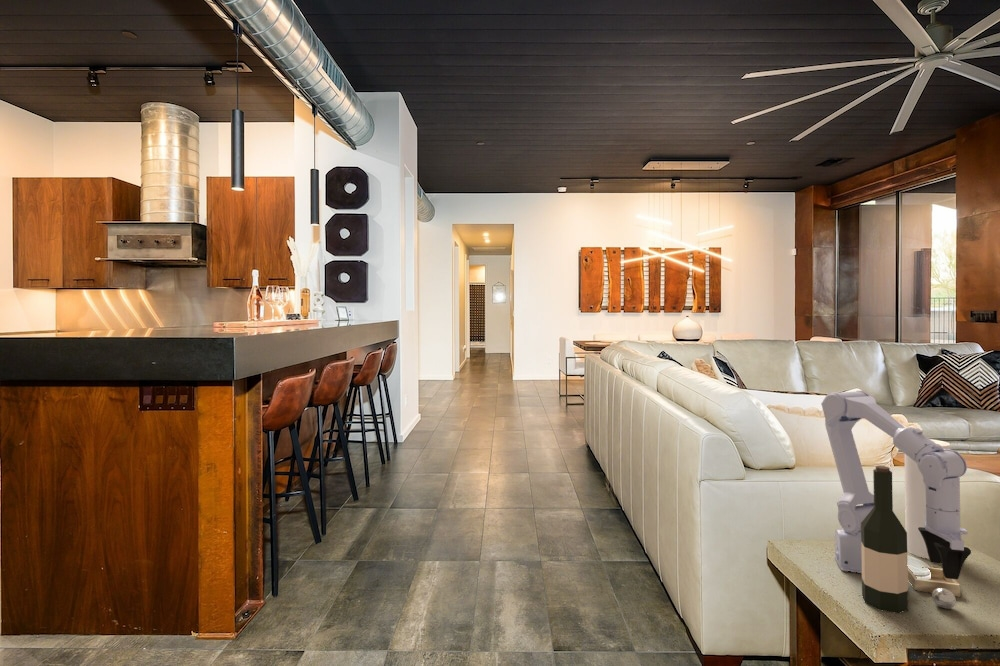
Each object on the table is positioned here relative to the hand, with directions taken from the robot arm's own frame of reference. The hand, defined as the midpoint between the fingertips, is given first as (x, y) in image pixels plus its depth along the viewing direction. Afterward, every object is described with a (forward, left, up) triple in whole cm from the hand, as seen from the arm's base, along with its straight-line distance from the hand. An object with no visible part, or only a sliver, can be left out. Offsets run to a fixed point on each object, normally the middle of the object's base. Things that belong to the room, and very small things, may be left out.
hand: (943, 570), depth 114 cm
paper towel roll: (+7, +31, -8) cm, 33 cm away
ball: (0, 0, -6) cm, 6 cm away
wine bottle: (-11, -2, -8) cm, 14 cm away
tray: (+1, +11, -8) cm, 13 cm away
